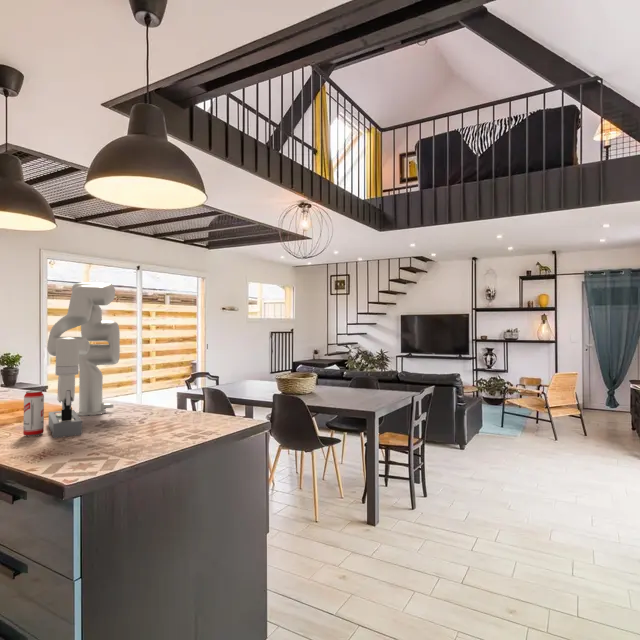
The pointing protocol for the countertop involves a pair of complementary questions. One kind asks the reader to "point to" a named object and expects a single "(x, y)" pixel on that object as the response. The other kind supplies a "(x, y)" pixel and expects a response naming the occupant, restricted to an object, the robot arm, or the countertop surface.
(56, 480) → the countertop surface
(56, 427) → the keypad
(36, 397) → the beer can
